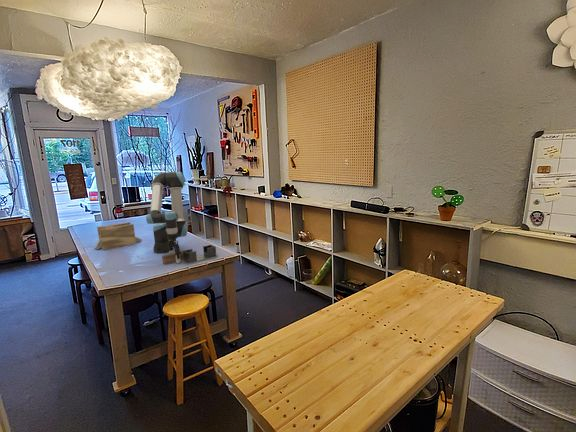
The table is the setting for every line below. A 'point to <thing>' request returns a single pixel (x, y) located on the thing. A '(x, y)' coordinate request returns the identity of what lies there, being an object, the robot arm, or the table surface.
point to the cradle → (117, 235)
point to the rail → (171, 258)
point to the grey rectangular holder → (193, 258)
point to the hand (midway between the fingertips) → (175, 260)
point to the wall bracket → (99, 244)
